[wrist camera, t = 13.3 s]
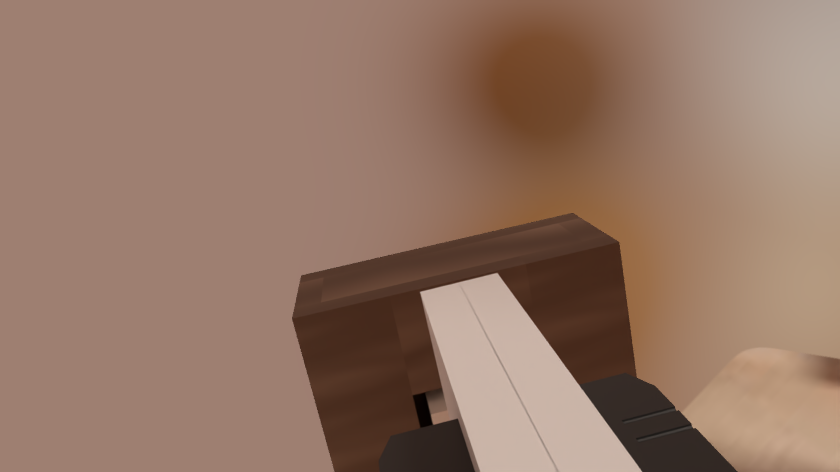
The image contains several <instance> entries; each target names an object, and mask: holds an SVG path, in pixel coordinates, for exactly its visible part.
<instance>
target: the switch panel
mask: <svg viewBox="0 0 840 472" xmlns="http://www.w3.org/2000/svg"><path fill="white" fill-rule="evenodd" d="M495 273H498V275H499V276H500V277H501V279H502V280H503V282H504V283H505V284H506V286H507V287H508V288H509V290H510V291H511V293H512V294H513V295H514V297H515V298H516V299H517V301H518V302H519V304H520V305H521V306H522V308H523V309H524V310H525V312H526V313H527V314H528V316H529V317H530V319H531V320H532V321H533V323H534V324H535V325H536V327H537V328H538V330H539V331H540V332H541V334H542V335H543V336H544V338H545V339H546V341H547V342H548V343H549V345H550V346H551V347H552V349H553V350H554V351H555V353H556V354H557V356H558V357H559V358H560V360H561V361H562V362H563V364H564V365H565V367H566V368H567V369H568V371H569V372H570V373H571V375H572V376H573V378H574V379H575V380H576V382H577V383H578V384H579V385H580V384H584V383H587V382H591V381H595V380H599V379H603V378H607V377H611V376H615V375H619V374H622V373H627V374H629V375H632V376H634V377H636V369H635V361H634V353H633V346H632V338H631V330H630V322H629V315H628V307H627V299H626V291H625V284H624V276H623V268H622V261H621V254H620V245H619V242H618V241H617V240H615V239H613V238H612V237H610V236H609V235H607V234H605V233H604V232H602V231H601V230H599V229H597V228H596V227H594V226H593V225H591V224H590V223H588V222H586V221H584V220H583V219H582V218H580V217H578V216H577V215H575V214H574V213H571V214H567V215H562V216H557V217H553V218H549V219H544V220H540V221H536V222H531V223H527V224H523V225H519V226H514V227H510V228H505V229H501V230H497V231H492V232H488V233H484V234H480V235H475V236H471V237H467V238H462V239H458V240H453V241H449V242H445V243H440V244H436V245H432V246H427V247H423V248H419V249H414V250H410V251H406V252H401V253H397V254H393V255H388V256H384V257H380V258H375V259H371V260H367V261H362V262H358V263H354V264H350V265H345V266H341V267H336V268H332V269H327V270H323V271H319V272H314V273H310V274H306V275H302V276H301V280H300V284H299V288H298V293H297V298H296V303H295V308H294V312H293V317H292V320H293V323H294V327H295V331H296V334H297V338H298V342H299V345H300V349H301V352H302V356H303V359H304V363H305V367H306V370H307V374H308V377H309V381H310V385H311V388H312V392H313V396H314V399H315V403H316V406H317V410H318V413H319V417H320V420H321V424H322V428H323V431H324V435H325V439H326V442H327V446H328V450H329V453H330V457H331V460H332V464H333V468H334V471H335V472H379V459H380V457H381V455H382V453H383V450H384V448H385V446H386V444H387V442H388V440H389V438H390V436H392V435H396V434H400V433H403V432H407V431H411V430H415V429H419V428H423V427H427V426H431V425H432V422H431V417H430V413H429V408H428V404H427V400H426V395H425V392H428V391H432V390H437V389H441V388H442V385H441V380H440V376H439V372H438V367H437V363H436V359H435V354H434V350H433V346H432V341H431V337H430V333H429V329H428V324H427V320H426V316H425V311H424V307H423V303H422V298H421V294H420V292H422V291H426V290H430V289H434V288H438V287H442V286H446V285H450V284H454V283H458V282H463V281H467V280H471V279H475V278H479V277H483V276H487V275H491V274H495ZM636 378H637V377H636Z"/></svg>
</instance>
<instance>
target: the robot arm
mask: <svg viewBox="0 0 840 472" xmlns="http://www.w3.org/2000/svg"><path fill="white" fill-rule="evenodd" d="M420 294H421V298H422V303H423V307H424V311H425V316H426V320H427V324H428V329H429V333H430V337H431V341H432V346H433V350H434V354H435V359H436V363H437V367H438V372H439V376H440V380H441V385H442V389H443V393H444V398H445V402H446V406H447V410H448V415H449V419H450V421H446V422H442V423H438V424H434V425H431V426H427V427H423V428H419V429H415V430H411V431H407V432H403V433H400V434H396V435H392V436H390V438H389V440H388V442H387V444H386V446H385V448H384V450H383V453H382V455H381V457H380V459H379V472H737V471H736V470H735V469H734V468H733V467H732V465H731V464H730V463H729V462H728V461H727V460H726V459H725V458H724V457H723V456H722V455H721V454H720V453H719V452H718V451H717V450H716V449H715V448H714V447H713V446H712V445H711V444H710V443H709V442H708V441H707V439H706V438H705V437H704V436H703V435H702V434H701V433H700V432H699V431H698V430H697V429H696V428H694V429H693V427H692V425H691V423H690V422H689V421H688V420H687V419H686V418H685V417H684V416H683V415H682V413H681V412H680V411H679V410H678V411H676V409H675V406H674V405H673V404H672V403H671V402H670V401H669V400H668V399H667V398H666V397H665V396H664V395H663V394H662V393H661V392H660V391H659V390H658V388H656V387H655V386H654V385H652V384H649V383H647V382H644V381H643V380H640V379H638V378H636V377H634V376H632V375H629V374H627V373H622V374H619V375H615V376H611V377H607V378H603V379H599V380H595V381H591V382H587V383H584V384H580V385H579V384H578V383H577V382H576V380H575V379H574V378H573V376H572V375H571V373H570V372H569V371H568V369H567V368H566V367H565V365H564V364H563V362H562V361H561V360H560V358H559V357H558V356H557V354H556V353H555V351H554V350H553V349H552V347H551V346H550V345H549V343H548V342H547V341H546V339H545V338H544V336H543V335H542V334H541V332H540V331H539V330H538V328H537V327H536V325H535V324H534V323H533V321H532V320H531V319H530V317H529V316H528V314H527V313H526V312H525V310H524V309H523V308H522V306H521V305H520V304H519V302H518V301H517V299H516V298H515V297H514V295H513V294H512V293H511V291H510V290H509V288H508V287H507V286H506V284H505V283H504V282H503V280H502V279H501V277H500V276H499V275H498V273H495V274H491V275H487V276H483V277H479V278H475V279H471V280H467V281H463V282H458V283H454V284H450V285H446V286H442V287H438V288H434V289H430V290H426V291H422V292H420Z"/></svg>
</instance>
